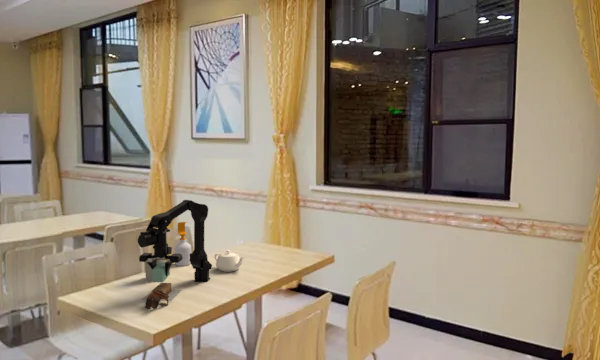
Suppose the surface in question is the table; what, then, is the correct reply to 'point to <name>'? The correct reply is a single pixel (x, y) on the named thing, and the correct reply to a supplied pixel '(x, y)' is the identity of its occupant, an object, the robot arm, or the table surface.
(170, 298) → the build mat
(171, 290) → the post
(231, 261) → the teapot
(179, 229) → the soap bottle
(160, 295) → the brown curved piece
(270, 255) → the table surface
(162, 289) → the brown wooden block
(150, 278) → the speckled grey cylinder
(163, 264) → the lintel
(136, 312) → the table surface
